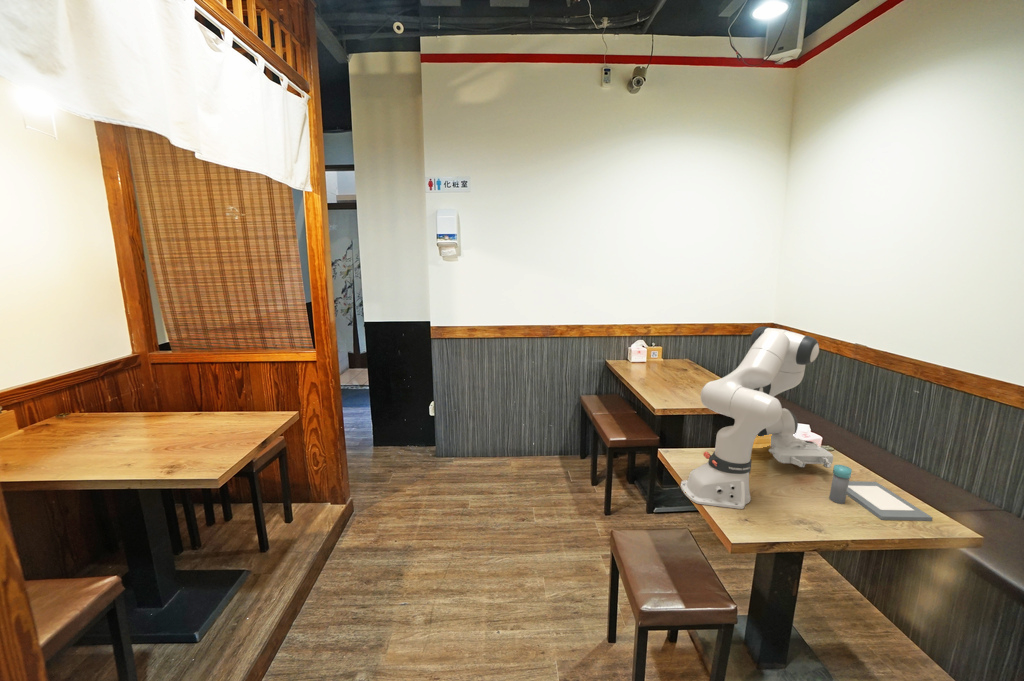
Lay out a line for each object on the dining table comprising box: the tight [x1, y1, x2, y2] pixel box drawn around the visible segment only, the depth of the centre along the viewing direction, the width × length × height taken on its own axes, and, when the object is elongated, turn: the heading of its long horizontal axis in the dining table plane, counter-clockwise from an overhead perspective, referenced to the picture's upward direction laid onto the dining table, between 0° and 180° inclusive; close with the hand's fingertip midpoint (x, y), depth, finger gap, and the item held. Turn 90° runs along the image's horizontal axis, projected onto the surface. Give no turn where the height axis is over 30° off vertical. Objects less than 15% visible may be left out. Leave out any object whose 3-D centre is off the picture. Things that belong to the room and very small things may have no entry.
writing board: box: [846, 480, 934, 522], centre depth 148 cm, size 16×22×1 cm
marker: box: [829, 464, 853, 505], centre depth 147 cm, size 5×5×12 cm
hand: (816, 465), depth 159 cm, fingers open, 8 cm apart
